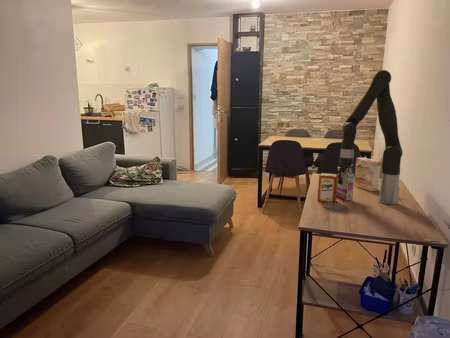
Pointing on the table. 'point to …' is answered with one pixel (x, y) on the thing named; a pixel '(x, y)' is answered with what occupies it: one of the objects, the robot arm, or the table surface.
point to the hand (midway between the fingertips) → (344, 183)
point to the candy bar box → (346, 187)
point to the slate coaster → (335, 206)
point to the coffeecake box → (367, 173)
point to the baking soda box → (327, 187)
